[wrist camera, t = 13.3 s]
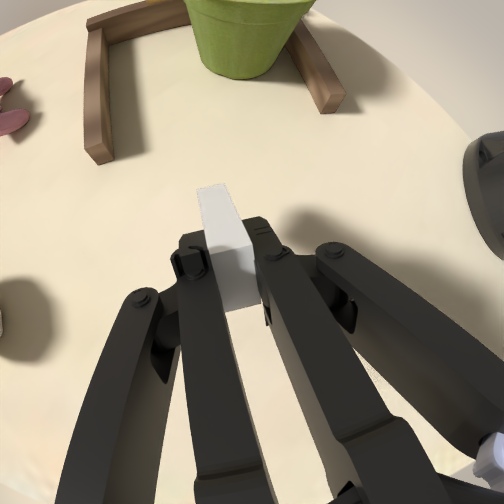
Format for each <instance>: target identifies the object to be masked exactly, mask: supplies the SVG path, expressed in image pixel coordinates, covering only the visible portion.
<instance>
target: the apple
mask: <svg viewBox="0 0 504 504" xmlns="http://www.w3.org/2000/svg"><path fill="white" fill-rule="evenodd" d="M2 333H3V329H2V318H1V309H0V337H1V335H2Z"/></svg>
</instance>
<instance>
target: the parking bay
mask: <svg viewBox="0 0 504 504" xmlns="http://www.w3.org/2000/svg"><path fill="white" fill-rule="evenodd" d="M189 24H191V20H190V17H189V13H188V10H187V6H186V3H185V2H184V0H146V1H142V2H138V3H135V4H131V5H128V6H124V7H121V8H118V9H115V10H112V11H109V12H106V13H103V14H100V15H97V16H95V17H92V18H89V19H87V23H86V28H87V30H88V32H89V33H88V41H87V51H86V63H85V78H84V149H85V151H86V152H87V153H88V154H89V155H90V157H91V158H92V159H93V160H94V161H95V162H96V164H97V165H101V164H103V163H106V162H109V161H112V160H114V152H113V142H112V131H111V118H110V101H109V46H110V45H113V44H116V43H119V42H122V41H125V40H128V39H132V38H135V37H138V36H142V35H146V34H149V33H153V32H157V31H161V30H166V29H170V28H174V27H179V26H184V25H189ZM285 46H286V48H287V50H288V51H289V53H290V55H291V57H292V59H293V60H294V62H295V64H296V66H297V68H298V70H299V72H300V74H301V76H302V77H303V79H304V81H305V83H306V85H307V87H308V89H309V91H310V93H311V95H312V97H313V99H314V102H315V104H316V106H317V108H318V110H319V112H320V114H325V113H335V111H336V110H337V108H338V107H339V105H340V103H341V102H342V100H343V98H344V97H345V95H346V92H345V90H344V89H343V87H342V85H341V83H340V81H339V80H338V78H337V76H336V74H335V73H334V71H333V69H332V67H331V66H330V64H329V62H328V61H327V59H326V57H325V56H324V54H323V53H322V51H321V49H320V48H319V46H318V45H317V43H316V41H315V40H314V38H313V37H312V35H311V34H310V32H309V31H308V29H307V28H306V26H305V25H304V24H303V22H302V21H301V19H300V20H299V22H298V24H297V25H296V27H295V28H294V30H293V32H292V33H291V35H290V37H289V38H288V40H287V42H286V43H285Z"/></svg>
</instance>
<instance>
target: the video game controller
mask: <svg viewBox="0 0 504 504" xmlns="http://www.w3.org/2000/svg"><path fill="white" fill-rule="evenodd" d="M12 85H13V81H12V79H10V78H8V77H2V78H0V96H2V95H3V94H5V93H6V92H7V91H8V90H9V89H11V87H12ZM1 109H2V107H1V105H0V111H1ZM29 116H30V115H29V112H28V111H27V110H25V109H16V110H12V111H8V112H4V113H0V136H3V135H7V134H9V133H12V132H14V131H16V130H18V129H19V128H21V127H22V126H24V125H25V124H26V122H27V121H28V120H29Z"/></svg>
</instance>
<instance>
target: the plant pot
mask: <svg viewBox="0 0 504 504" xmlns="http://www.w3.org/2000/svg"><path fill="white" fill-rule="evenodd" d="M315 1H316V0H184V2H185V3H186V6H187V10H188V13H189V17H190V20H191V24H192V28H193V31H194V35H195V39H196V43H197V46H198V50H199V54H200V57H201V60H202V62H203V64H204V65H205V66H206V67H207V68H208V69H209V70H210V71H212V72H213V73H217V74H221V75H224V76H226V77H228V78H232V79H248V78H253V77H257V76H259V75H261V74H263V73H265V72H267V71H268V70H269V69H270V67H271V66H272V65H273V64H274V62H275V60H276V58H277V57H278V55H279V53H280V52H281V50H282V48H283V47H284V45H285V43H286V42H287V40H288V38H289V37H290V35H291V33H292V32H293V30H294V28H295V27H296V25H297V24H298V22H299V20H300V19H301V17H302V16H303V15H304V14H305V13H307V12H308V11H309V9H310V8H311V7H312V5H313V4H314V2H315Z"/></svg>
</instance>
